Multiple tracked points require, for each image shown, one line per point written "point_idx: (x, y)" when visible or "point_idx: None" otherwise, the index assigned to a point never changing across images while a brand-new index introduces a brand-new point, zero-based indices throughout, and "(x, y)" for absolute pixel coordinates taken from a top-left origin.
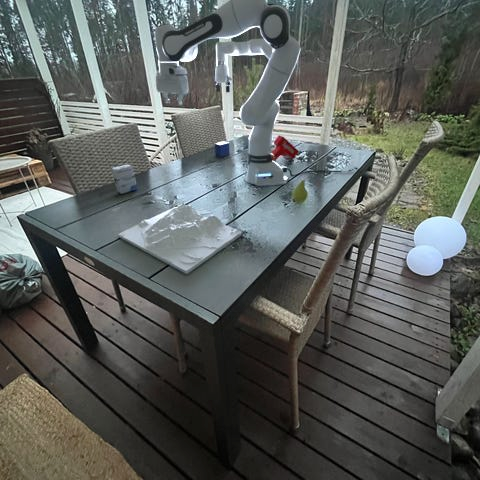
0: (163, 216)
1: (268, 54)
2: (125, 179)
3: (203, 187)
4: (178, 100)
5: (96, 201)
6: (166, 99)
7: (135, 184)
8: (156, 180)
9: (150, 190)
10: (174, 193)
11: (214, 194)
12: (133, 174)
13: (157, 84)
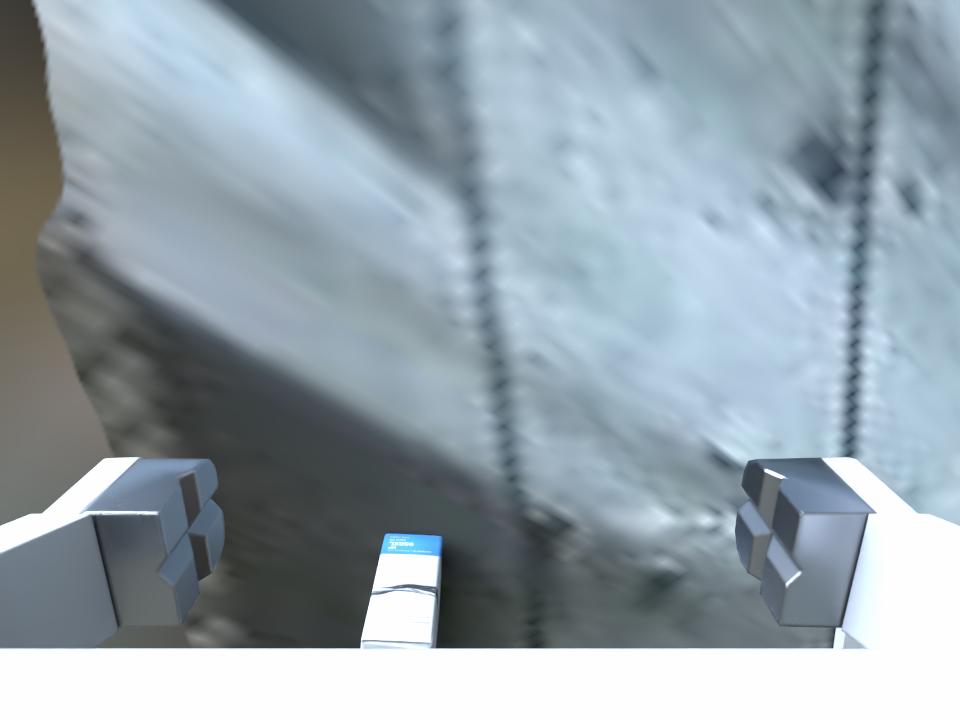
0: None
1: None
2: (436, 640)
3: (767, 246)
4: (875, 632)
5: None
6: (171, 624)
7: (440, 561)
8: (385, 376)
9: (513, 494)
10: (673, 433)
11: (912, 283)
12: (435, 604)
13: None
